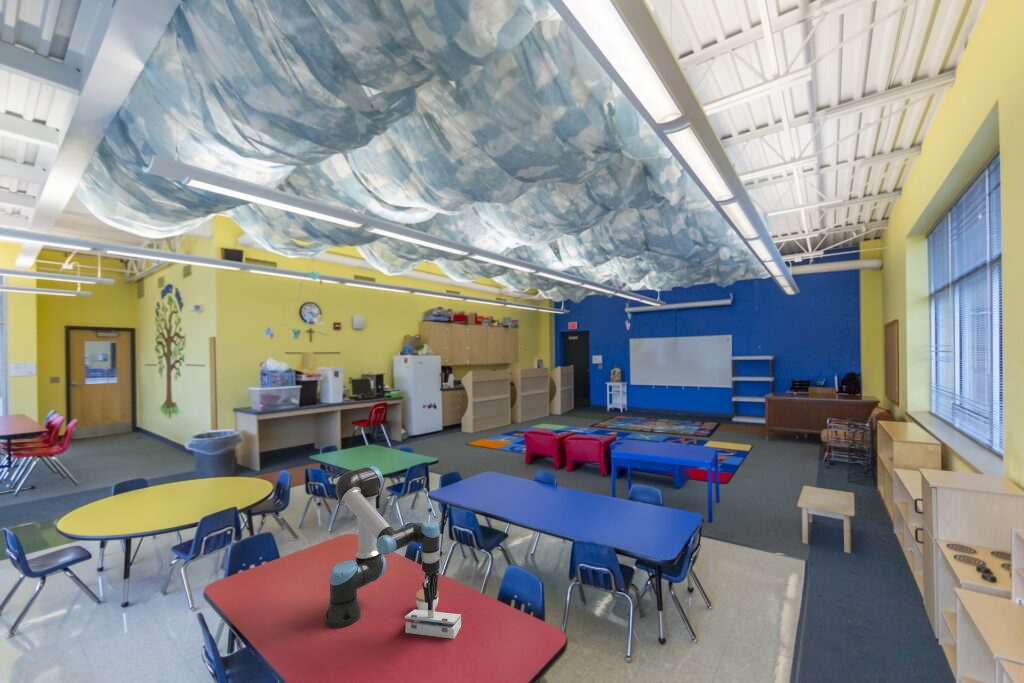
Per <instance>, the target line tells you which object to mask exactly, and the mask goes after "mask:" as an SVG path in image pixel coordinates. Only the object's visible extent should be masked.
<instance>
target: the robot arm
mask: <svg viewBox="0 0 1024 683" xmlns="http://www.w3.org/2000/svg"><path fill="white" fill-rule="evenodd" d="M383 484H384V477H383V474H382V472H381V470H380V469H379V468H378V467H376V466H375V465H374V466H365V467H361V468H357V469H353V470H349V471H346V472H344V473H343V474H342V475H340V476H339V478H338V479H337V481H336V484H335V493H336V497H337V499H338V500H339V502H340V503H341V505H343V506H347V507H348V508H349V509H350V511H351V512H352V513H353V514H354V515H355V516H356V517H357V540H358V541H357V542H358V543H357V544H358V551H357V552H356V554H355V557H354V558H355V560H354V559H353V560H352V559H350V560H349V559H348V560H343V561H341V562H339V563H337V564H335V565H334V566H333V567H332V569H331V570H330V572H329V603H328V607H327V611H326V613H325V620H324V622H325V625H326V626H328V628H333V629H338V628H344V627H348V626H350V625H352V624H354V623H356V622H358V621H359V620H360V619H361V616H362V610H361V607H360V604H359V601H358V590H359V589H360V588H362V587H365V586H368V585H369V584H370V583H373V582H376V581H377V580H379V579H380V578H381V577H382V576H384V574H385V572H386V569H387V559H386V558H385V556H386V555H389V554H392V553H394V552H396V551H398V550H401V549H403V548H405V547H407V546H409V545H412V544H414V543H415V544H418V545H419V544H420V545H421V570H422V572H423V573H425V574H424V580H425V581H424V582H422V583H421V585H422V589H424V597H425V603H428V617H433V618H434V616H435V612H436V608H435V600H434V599H437V597H435V596H436V595H437V590H438V584H439V583H438V582H439V574H440V565H441V564H440V555H441V552H440V534H441V533H440V525H439V523H438V522H437V521H432V520H431V521H430V520H429V521H425V522H423V523H422V524H419V523H416V522H414V521H406V522H404V523H403V524H402V525H401V527H400V528H398V529H396V530H395V529H394V528H393V527H392V526H391V525H390V524H389V523H388V522H387V521H386V519H385V518H384V517H383V516H382V515H381V514H380V513H379V512H378V511H377V508H376V507H377V506H376V505H377V504H376V498H377V496H379V490H380V489H381V488H382V487H383Z"/></svg>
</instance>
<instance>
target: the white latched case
mask: <svg viewBox="0 0 1024 683" xmlns="http://www.w3.org/2000/svg"><path fill="white" fill-rule="evenodd" d="M419 621H420V620H414V619H413V622H411V621H405V633H406V634H412V635H415V634H416V635H422V636H430V637H436V638H444V639H445V638H446V639H453V640H455V638H456V636H457V634H458V633H459V631H460V629H461V627H462V616H461V617H460V618H459V619H458V620H457V621H456V622H455V623H454V624H447V623H440V626H438V625H430V624H422V623H419Z"/></svg>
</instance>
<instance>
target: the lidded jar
mask: <svg viewBox="0 0 1024 683" xmlns="http://www.w3.org/2000/svg"><path fill="white" fill-rule="evenodd" d="M439 595H440V592H439V590H438V589H437V595H436V596H435V597H437V599H434V600H435V609H436V608H437V606H438V604H439ZM415 604H416V608H417V610H425V611H428V603H425V597H424V589H423V588H422V589H419V590H418V591H417V592H416V593H415Z"/></svg>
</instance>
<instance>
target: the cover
mask: <svg viewBox="0 0 1024 683" xmlns="http://www.w3.org/2000/svg"><path fill="white" fill-rule="evenodd" d="M460 617H461V618H462V614H461V613H449V612H448V613H447V612H441V611H435V616H434V618H433V617H428V611H425V610H418V609H413V610H412V611H410V612H408V613H407V614H405V616H404V619H407V620H413V621H414V620H422V621H431V622H439V623H447V624H454V623H455V622H456V621H457V620H458V619H459V618H460Z"/></svg>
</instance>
